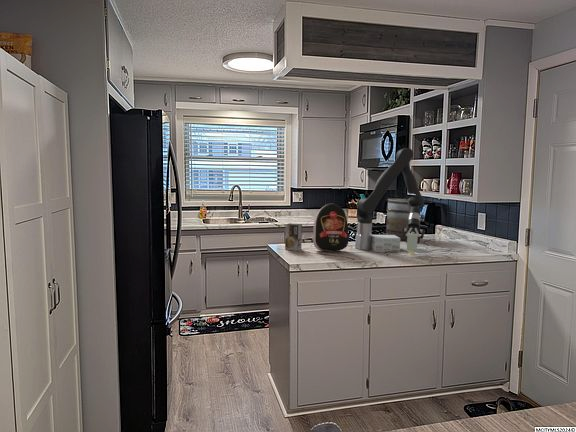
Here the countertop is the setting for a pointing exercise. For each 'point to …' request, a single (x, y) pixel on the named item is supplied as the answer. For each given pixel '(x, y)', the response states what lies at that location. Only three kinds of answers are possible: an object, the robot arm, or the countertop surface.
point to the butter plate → (410, 254)
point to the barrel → (397, 217)
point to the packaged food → (330, 228)
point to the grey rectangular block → (412, 241)
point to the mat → (421, 251)
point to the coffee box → (293, 236)
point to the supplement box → (385, 243)
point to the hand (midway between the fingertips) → (412, 242)
